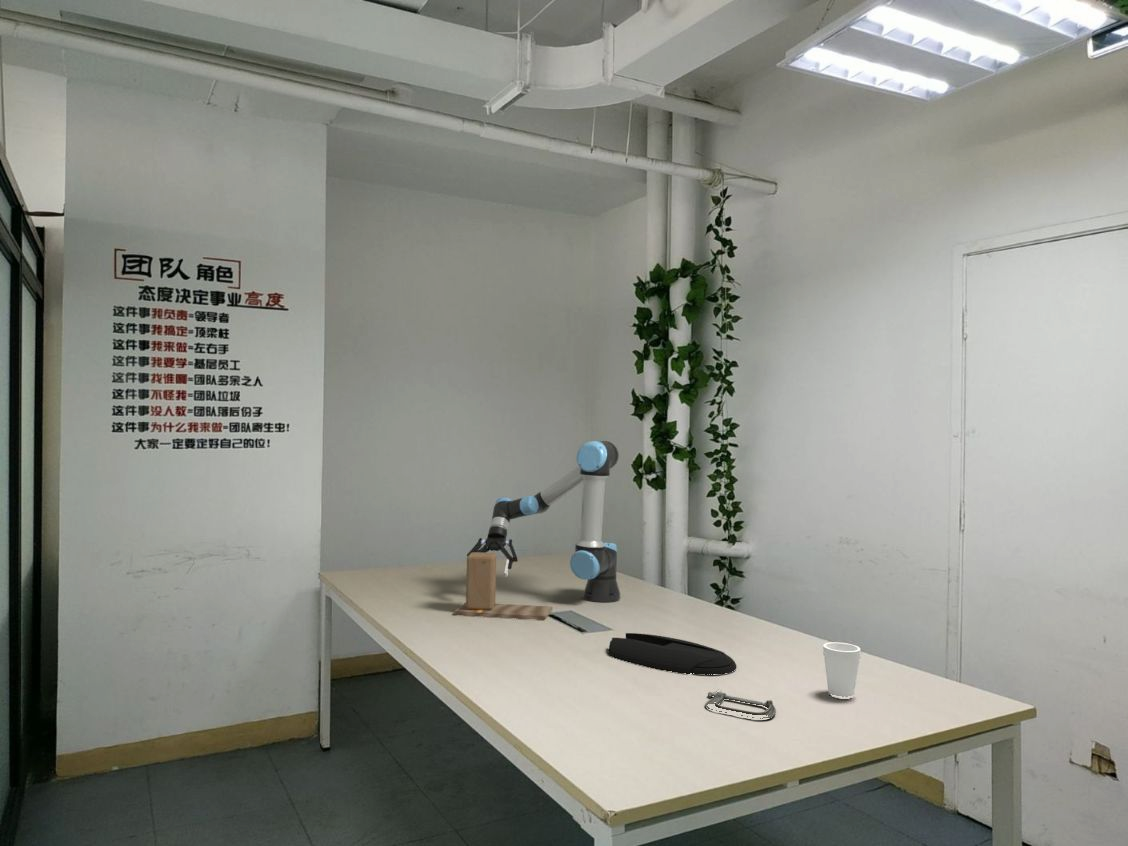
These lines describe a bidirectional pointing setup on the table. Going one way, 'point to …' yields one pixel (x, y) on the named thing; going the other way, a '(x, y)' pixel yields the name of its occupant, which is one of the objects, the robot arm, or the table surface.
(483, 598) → the wooden block
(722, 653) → the black notched oval shell
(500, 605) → the floor board
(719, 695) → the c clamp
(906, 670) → the table surface
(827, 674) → the foam cup
